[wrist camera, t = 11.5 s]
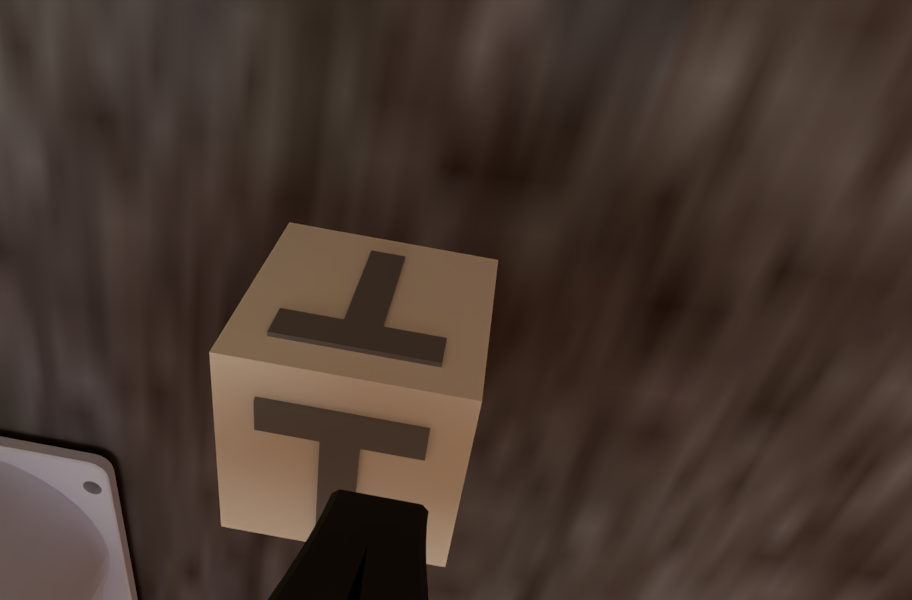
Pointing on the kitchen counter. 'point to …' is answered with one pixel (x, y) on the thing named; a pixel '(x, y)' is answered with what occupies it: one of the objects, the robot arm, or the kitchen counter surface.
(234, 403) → the letter cube
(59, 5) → the kitchen counter surface
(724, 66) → the kitchen counter surface
